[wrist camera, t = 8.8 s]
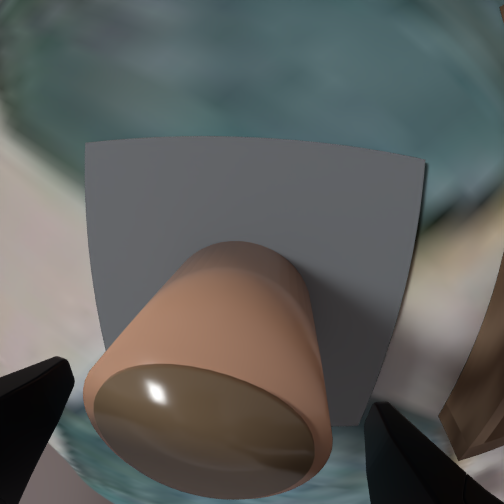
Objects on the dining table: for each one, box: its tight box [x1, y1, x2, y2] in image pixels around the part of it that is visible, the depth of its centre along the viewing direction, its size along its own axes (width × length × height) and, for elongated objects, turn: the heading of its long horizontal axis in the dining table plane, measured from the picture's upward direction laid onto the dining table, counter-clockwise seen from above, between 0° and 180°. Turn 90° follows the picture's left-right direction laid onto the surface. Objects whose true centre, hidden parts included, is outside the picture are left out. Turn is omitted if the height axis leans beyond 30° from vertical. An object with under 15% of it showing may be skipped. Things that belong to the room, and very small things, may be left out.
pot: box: [83, 241, 333, 499], centre depth 9 cm, size 6×6×7 cm
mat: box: [85, 136, 425, 426], centre depth 13 cm, size 14×14×1 cm
